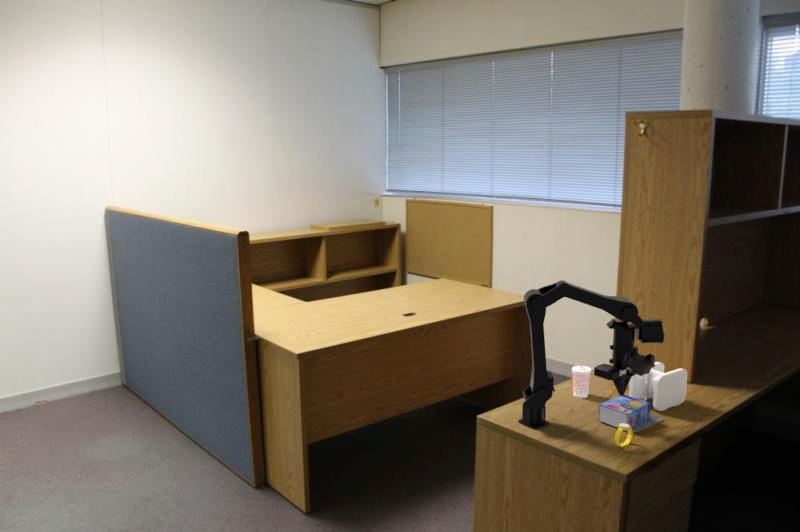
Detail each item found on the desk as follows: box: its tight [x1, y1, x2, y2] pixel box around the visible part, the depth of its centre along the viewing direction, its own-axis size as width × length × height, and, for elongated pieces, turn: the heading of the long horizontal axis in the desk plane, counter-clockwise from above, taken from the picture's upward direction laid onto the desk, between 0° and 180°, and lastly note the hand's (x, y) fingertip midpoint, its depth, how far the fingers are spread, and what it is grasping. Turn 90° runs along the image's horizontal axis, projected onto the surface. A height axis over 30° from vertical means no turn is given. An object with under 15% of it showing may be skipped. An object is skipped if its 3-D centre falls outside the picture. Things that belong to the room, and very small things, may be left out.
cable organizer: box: [628, 361, 688, 412], centre depth 208 cm, size 15×11×12 cm
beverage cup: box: [571, 353, 592, 399], centre depth 216 cm, size 6×6×14 cm
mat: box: [597, 413, 665, 434], centre depth 197 cm, size 15×12×1 cm
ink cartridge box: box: [598, 394, 652, 432], centre depth 196 cm, size 10×6×14 cm
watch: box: [614, 423, 634, 448], centre depth 181 cm, size 6×3×6 cm, turn 124°
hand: (621, 394), depth 193 cm, fingers closed
